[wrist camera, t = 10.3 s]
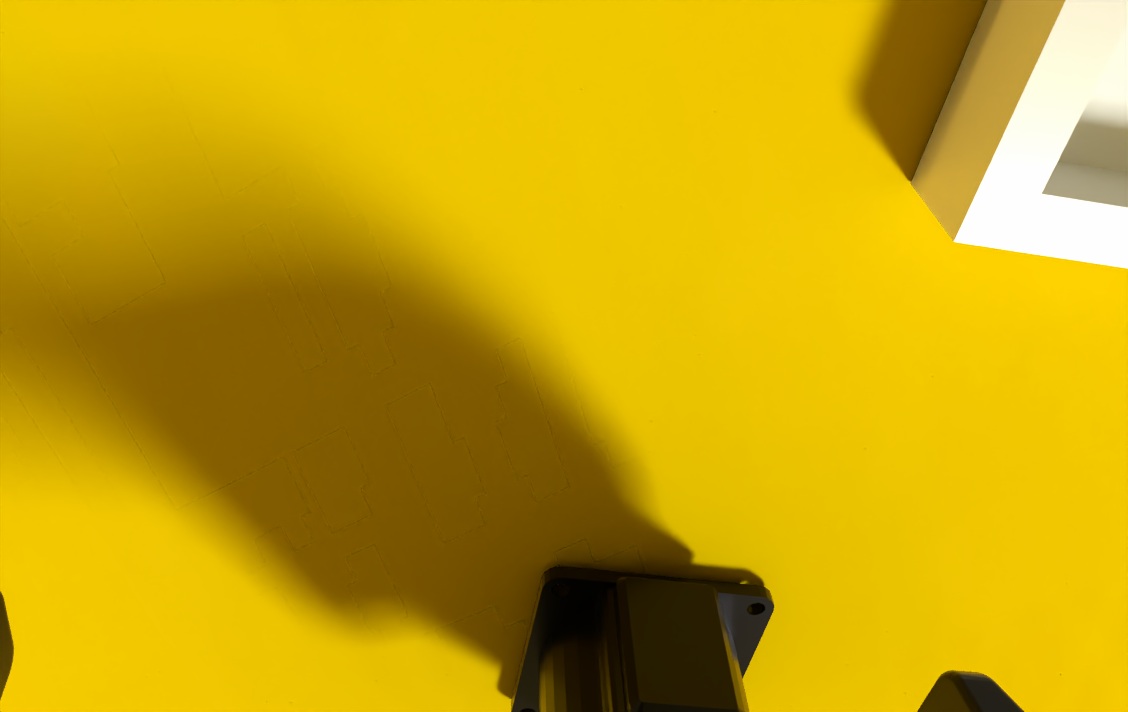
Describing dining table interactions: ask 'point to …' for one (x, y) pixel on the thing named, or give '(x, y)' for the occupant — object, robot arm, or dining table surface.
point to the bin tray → (1036, 133)
